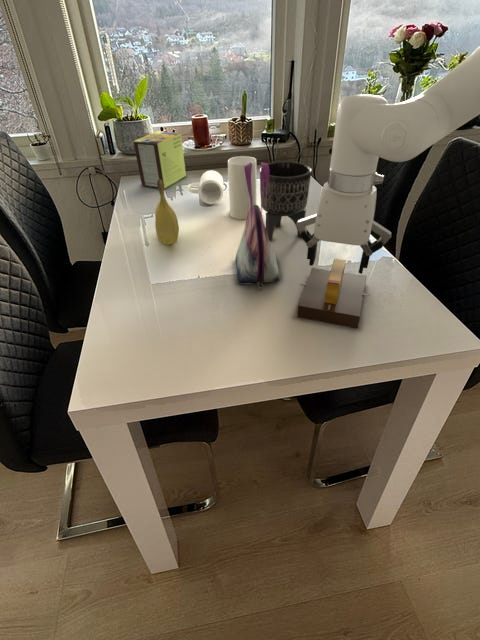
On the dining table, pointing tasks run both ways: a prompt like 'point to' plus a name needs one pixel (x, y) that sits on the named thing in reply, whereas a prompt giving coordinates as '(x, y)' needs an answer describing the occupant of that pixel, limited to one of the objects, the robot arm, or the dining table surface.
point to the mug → (209, 187)
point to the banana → (165, 219)
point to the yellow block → (335, 281)
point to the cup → (241, 186)
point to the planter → (285, 193)
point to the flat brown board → (338, 313)
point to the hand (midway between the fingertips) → (336, 266)
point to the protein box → (160, 158)
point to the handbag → (256, 241)
